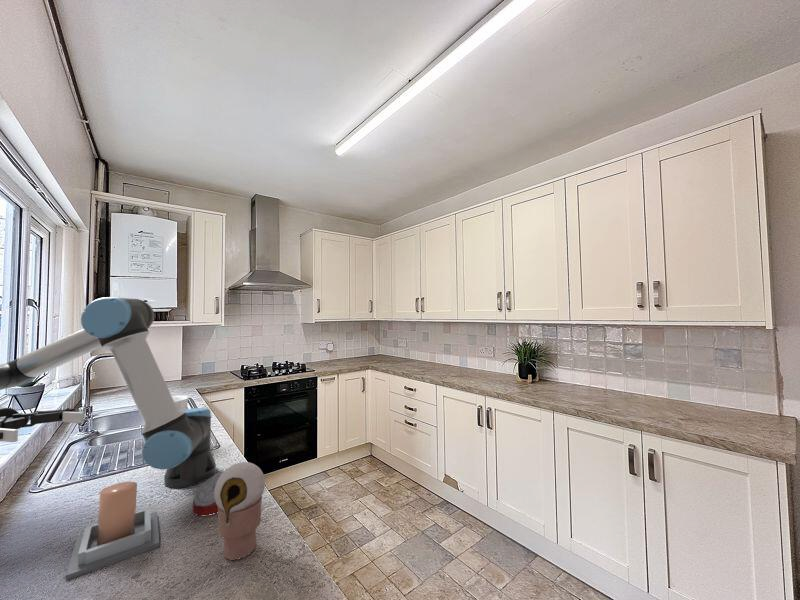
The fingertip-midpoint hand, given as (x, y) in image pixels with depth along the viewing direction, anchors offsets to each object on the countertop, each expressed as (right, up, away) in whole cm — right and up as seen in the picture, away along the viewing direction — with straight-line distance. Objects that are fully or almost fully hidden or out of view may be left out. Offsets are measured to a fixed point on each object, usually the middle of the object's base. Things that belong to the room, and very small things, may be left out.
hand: (51, 426), depth 84 cm
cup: (-5, -30, +51) cm, 60 cm away
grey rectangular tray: (+20, -28, -3) cm, 34 cm away
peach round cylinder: (+19, -26, -3) cm, 33 cm away
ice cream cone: (+51, -27, -7) cm, 58 cm away
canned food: (+34, -28, +12) cm, 46 cm away
